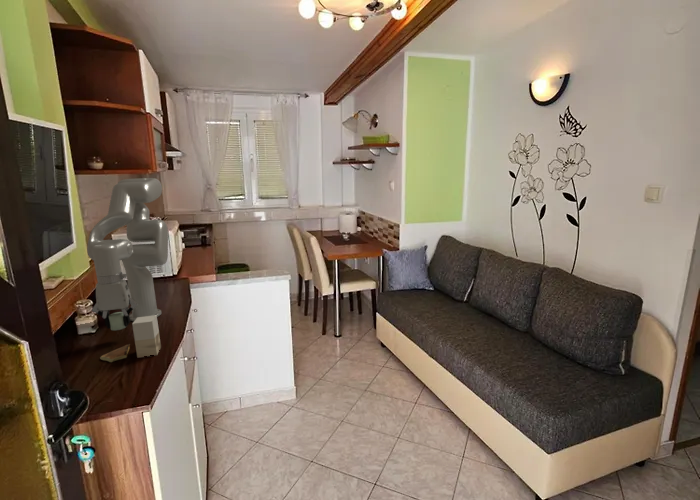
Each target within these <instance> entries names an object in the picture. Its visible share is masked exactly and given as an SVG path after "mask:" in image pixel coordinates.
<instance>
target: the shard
mask: <svg viewBox="0 0 700 500" xmlns="http://www.w3.org/2000/svg"><path fill="white" fill-rule="evenodd" d="M130 345H131V343H128V344H125V345H123V346H121V347H119V348H116V349H114V350H111V351H109V352H107V353H105V354H103V355H100V357H99V358H100V360H102V361H106V362H109V363H113V362H115V361H119V360H123V359H127V358H128V353H129V351H130Z"/></svg>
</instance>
